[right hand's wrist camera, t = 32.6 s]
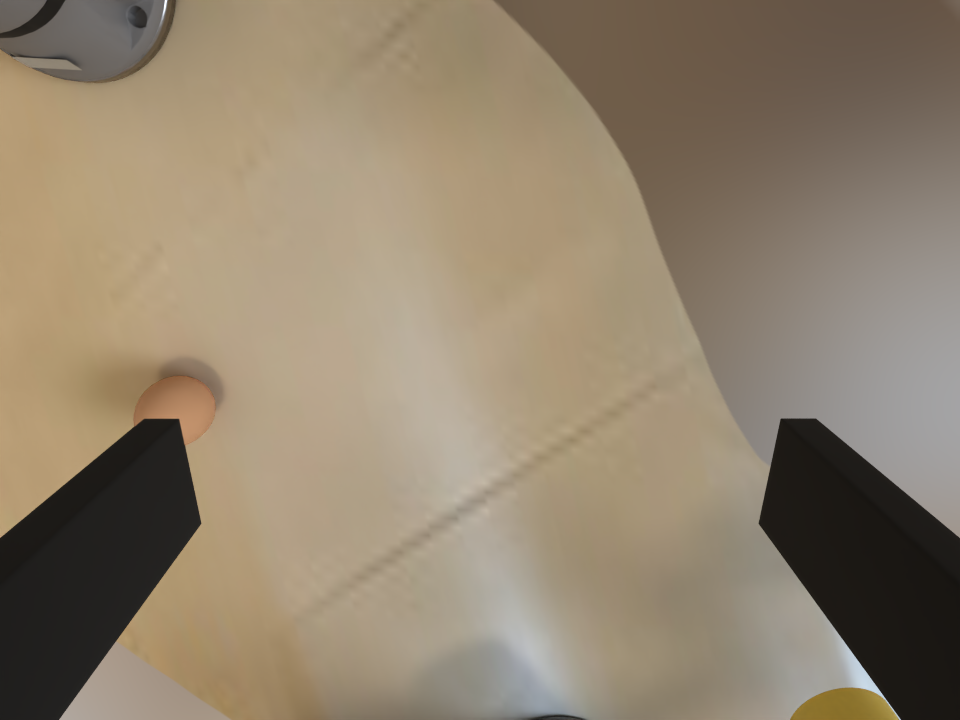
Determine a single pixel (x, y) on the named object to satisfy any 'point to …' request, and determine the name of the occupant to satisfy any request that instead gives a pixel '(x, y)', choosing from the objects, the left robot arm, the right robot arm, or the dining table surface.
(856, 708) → the can
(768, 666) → the dining table surface
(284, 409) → the dining table surface
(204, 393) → the egg
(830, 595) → the right robot arm
